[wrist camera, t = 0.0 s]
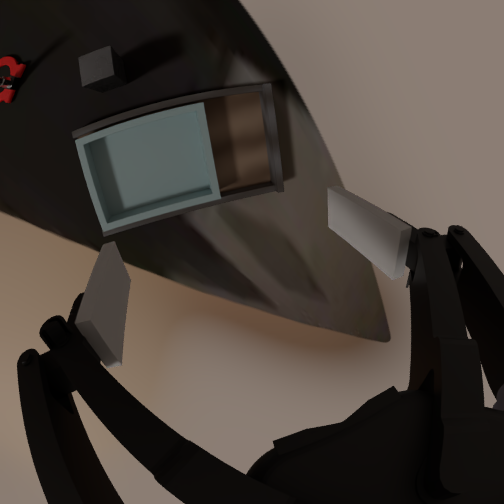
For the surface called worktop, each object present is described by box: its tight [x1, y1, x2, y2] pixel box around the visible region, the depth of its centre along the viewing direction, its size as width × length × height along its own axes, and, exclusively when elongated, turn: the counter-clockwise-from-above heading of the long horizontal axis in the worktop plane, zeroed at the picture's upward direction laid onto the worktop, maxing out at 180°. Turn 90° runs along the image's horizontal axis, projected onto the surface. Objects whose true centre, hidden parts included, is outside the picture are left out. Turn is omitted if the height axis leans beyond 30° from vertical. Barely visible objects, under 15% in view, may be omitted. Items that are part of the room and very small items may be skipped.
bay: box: [72, 83, 284, 237], centre depth 36 cm, size 17×29×4 cm, turn 99°
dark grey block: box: [79, 46, 127, 93], centre depth 25 cm, size 4×4×10 cm
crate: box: [75, 102, 221, 232], centre depth 35 cm, size 14×18×4 cm
